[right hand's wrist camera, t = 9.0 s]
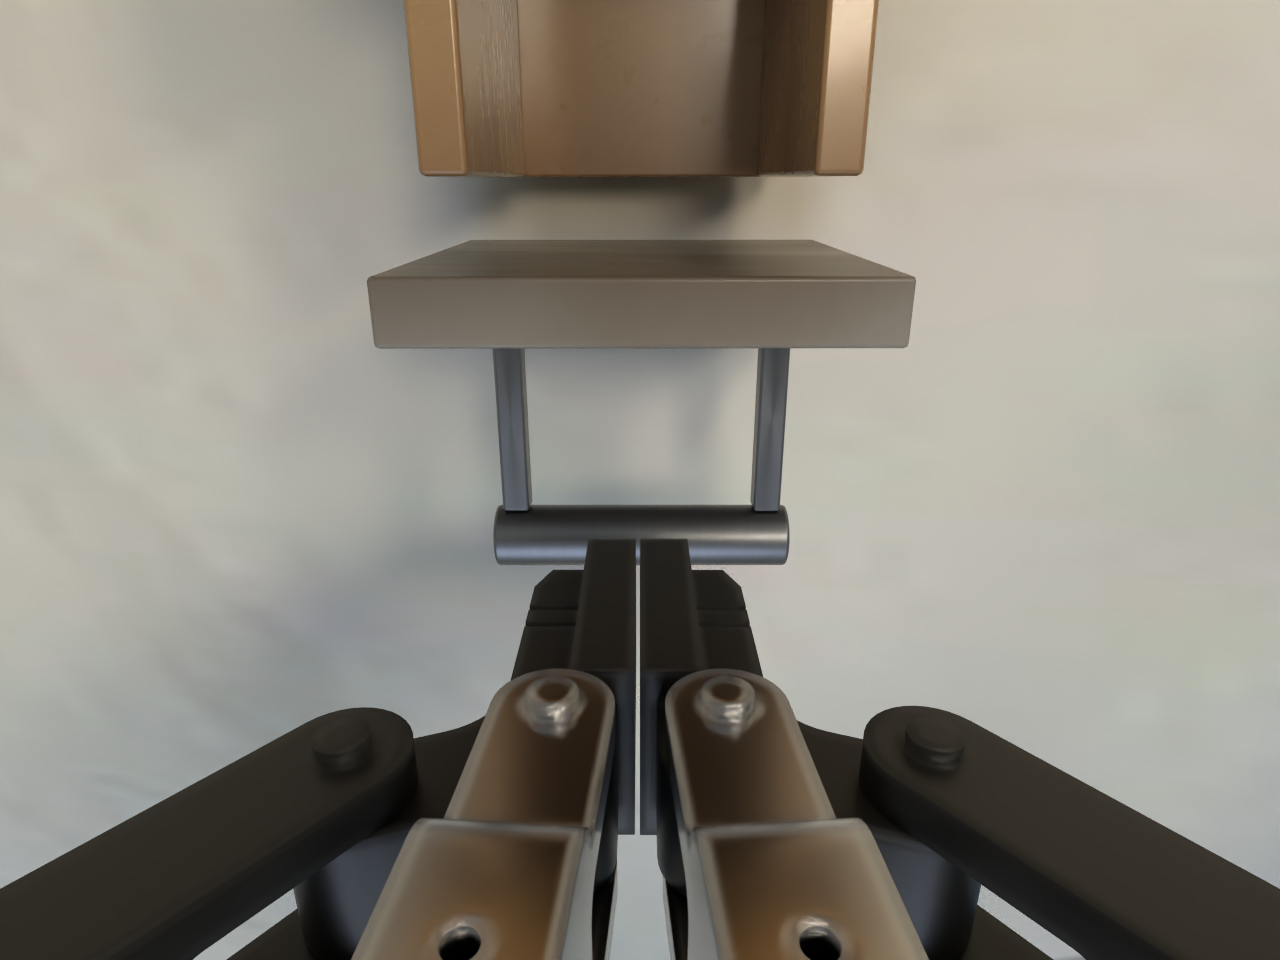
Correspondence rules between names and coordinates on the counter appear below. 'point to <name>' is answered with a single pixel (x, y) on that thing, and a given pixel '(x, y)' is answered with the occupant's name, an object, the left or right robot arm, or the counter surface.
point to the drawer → (641, 269)
